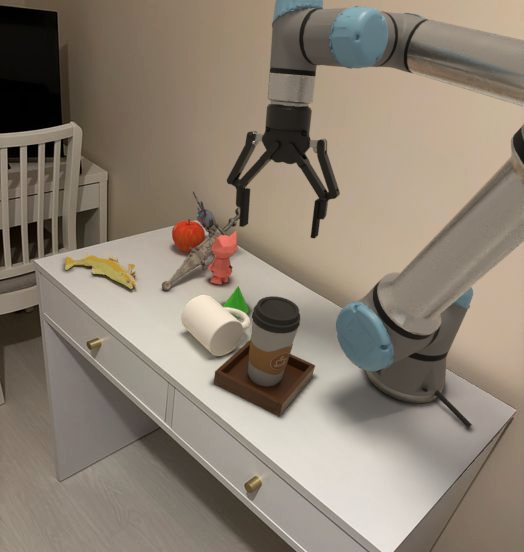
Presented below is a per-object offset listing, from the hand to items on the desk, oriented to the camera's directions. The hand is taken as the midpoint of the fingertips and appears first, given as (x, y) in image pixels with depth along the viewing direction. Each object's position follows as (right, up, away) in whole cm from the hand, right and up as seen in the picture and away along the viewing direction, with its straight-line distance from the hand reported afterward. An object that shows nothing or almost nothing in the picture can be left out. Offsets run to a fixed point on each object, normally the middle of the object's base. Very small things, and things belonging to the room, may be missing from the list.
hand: (278, 231), depth 100 cm
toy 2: (-12, +3, +34) cm, 36 cm away
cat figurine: (-13, -6, +27) cm, 30 cm away
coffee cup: (-3, -27, 0) cm, 27 cm away
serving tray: (-3, -27, +1) cm, 27 cm away
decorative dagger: (-25, -9, +20) cm, 33 cm away
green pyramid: (-9, -13, +18) cm, 24 cm away
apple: (-22, +3, +37) cm, 43 cm away
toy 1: (-35, -1, +24) cm, 43 cm away
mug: (-12, -20, +9) cm, 25 cm away
